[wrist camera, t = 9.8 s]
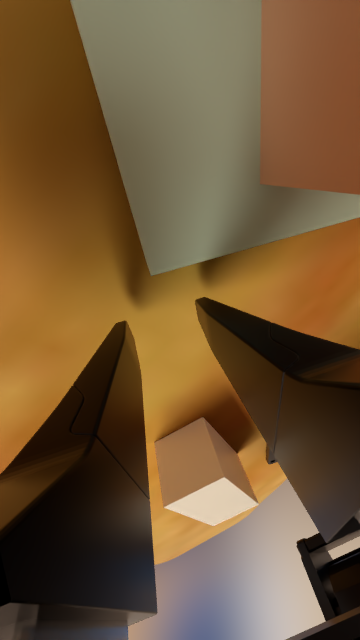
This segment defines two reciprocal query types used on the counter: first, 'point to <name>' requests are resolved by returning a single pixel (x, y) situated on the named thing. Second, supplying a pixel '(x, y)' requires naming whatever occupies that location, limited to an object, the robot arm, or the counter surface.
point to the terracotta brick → (310, 95)
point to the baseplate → (193, 128)
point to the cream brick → (202, 475)
